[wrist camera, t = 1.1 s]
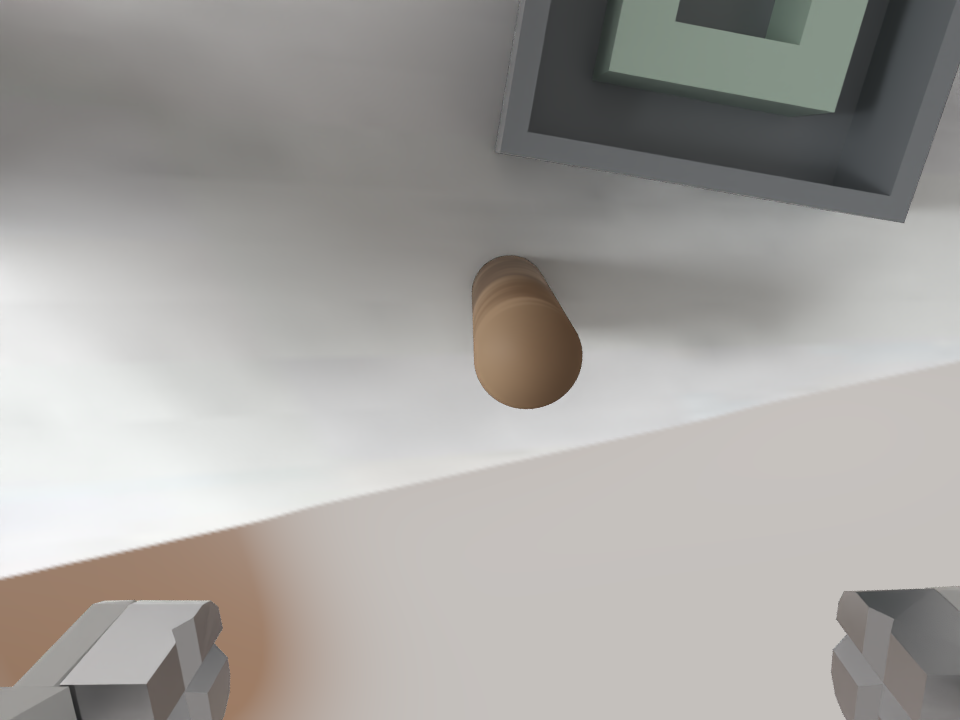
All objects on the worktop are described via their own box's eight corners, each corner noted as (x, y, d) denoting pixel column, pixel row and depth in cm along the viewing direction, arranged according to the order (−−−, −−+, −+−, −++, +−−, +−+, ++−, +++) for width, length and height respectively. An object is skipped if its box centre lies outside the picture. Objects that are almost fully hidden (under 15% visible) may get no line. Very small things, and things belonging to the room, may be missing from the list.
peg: (466, 322, 37) (465, 400, 25) (478, 249, 35) (483, 297, 24) (538, 333, 37) (570, 416, 25) (552, 262, 36) (592, 314, 24)
